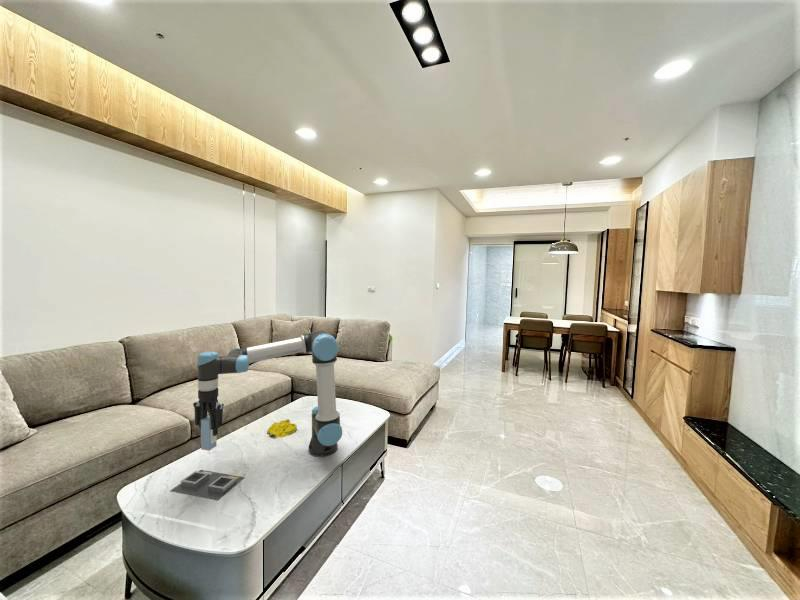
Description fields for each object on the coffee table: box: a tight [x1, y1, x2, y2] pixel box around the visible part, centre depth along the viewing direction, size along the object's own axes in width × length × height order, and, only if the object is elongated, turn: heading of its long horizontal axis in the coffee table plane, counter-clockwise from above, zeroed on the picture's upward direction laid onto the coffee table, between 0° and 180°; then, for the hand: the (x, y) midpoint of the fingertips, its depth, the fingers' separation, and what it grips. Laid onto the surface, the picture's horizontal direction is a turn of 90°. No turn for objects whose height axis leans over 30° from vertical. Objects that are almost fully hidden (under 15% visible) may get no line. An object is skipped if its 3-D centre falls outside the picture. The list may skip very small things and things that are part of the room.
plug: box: [200, 415, 217, 451], centre depth 141 cm, size 4×5×13 cm
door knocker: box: [266, 419, 297, 439], centre depth 196 cm, size 16×16×4 cm
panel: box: [170, 469, 246, 501], centre depth 143 cm, size 24×16×3 cm, turn 77°
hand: (208, 441), depth 141 cm, fingers closed on plug, 4 cm apart
